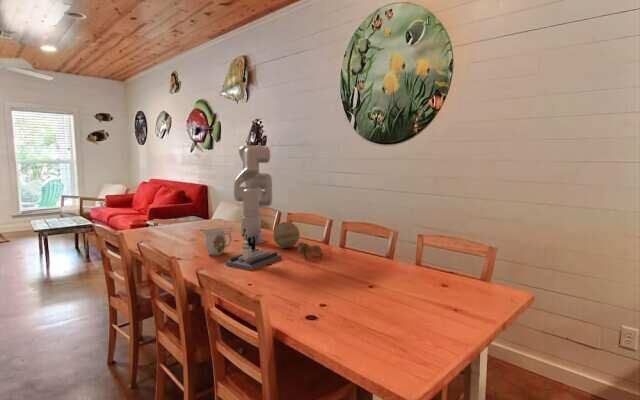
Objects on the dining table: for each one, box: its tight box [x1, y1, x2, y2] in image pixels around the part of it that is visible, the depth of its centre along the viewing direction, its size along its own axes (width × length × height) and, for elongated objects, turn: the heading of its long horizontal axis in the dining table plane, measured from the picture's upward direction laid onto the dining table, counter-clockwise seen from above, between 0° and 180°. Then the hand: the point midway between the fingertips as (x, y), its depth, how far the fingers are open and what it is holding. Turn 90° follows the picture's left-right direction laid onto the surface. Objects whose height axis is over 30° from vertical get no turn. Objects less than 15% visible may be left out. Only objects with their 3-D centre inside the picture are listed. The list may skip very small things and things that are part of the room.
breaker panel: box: [225, 248, 283, 271], centre depth 193 cm, size 24×16×4 cm, turn 149°
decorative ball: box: [273, 221, 300, 249], centre depth 221 cm, size 15×15×15 cm
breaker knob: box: [241, 245, 252, 261], centre depth 188 cm, size 3×3×7 cm
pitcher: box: [201, 227, 233, 256], centre depth 208 cm, size 11×18×14 cm, turn 136°
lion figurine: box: [296, 241, 325, 260], centre depth 200 cm, size 15×5×9 cm, turn 110°
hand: (252, 249), depth 191 cm, fingers closed
